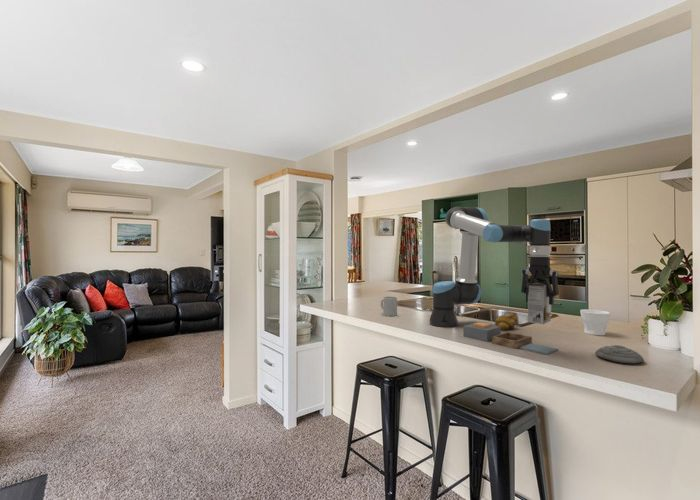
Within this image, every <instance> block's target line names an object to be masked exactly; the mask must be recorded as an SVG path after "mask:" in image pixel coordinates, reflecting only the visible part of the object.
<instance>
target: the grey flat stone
mask: <svg viewBox="0 0 700 500" xmlns="http://www.w3.org/2000/svg"><path fill="white" fill-rule="evenodd" d="M594 353H595V355H596V356H598V357H599V358H602V359H604V360H607V361H611V362H616V363H620V364H621V363H623V364H640V363H643V362H644V361H645V359H644V357H643V356H642V355H641V354H640V353H639V352H637V351H635V350H633V349H630V348H628V347H626V346H623V345H616V344H615V345H609V346H608V345H607V346H602V347H600V348H598V349H597V350H595V352H594Z"/></svg>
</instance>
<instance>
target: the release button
mask: <svg viewBox="0 0 700 500" xmlns="http://www.w3.org/2000/svg"><path fill="white" fill-rule="evenodd" d="M472 324H473V326H475V327H480V328H489V327H491V325H492V323H487V322H484V321H483V322H482V321H478V322H474V323H472Z"/></svg>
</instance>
